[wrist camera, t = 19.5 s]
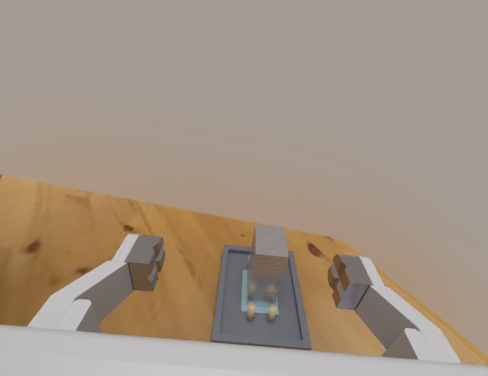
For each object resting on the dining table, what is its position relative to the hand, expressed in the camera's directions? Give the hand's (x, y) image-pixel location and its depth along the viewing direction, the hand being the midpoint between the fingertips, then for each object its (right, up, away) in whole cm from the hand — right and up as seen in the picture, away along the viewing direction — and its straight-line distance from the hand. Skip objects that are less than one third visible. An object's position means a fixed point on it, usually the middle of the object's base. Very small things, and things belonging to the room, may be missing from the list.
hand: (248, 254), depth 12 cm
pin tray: (+2, -16, +31) cm, 35 cm away
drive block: (+2, -14, +30) cm, 34 cm away
